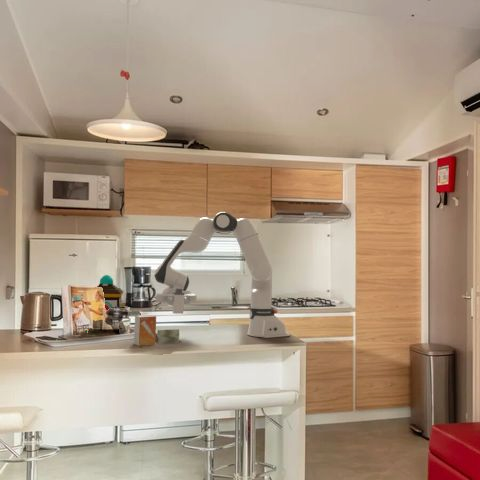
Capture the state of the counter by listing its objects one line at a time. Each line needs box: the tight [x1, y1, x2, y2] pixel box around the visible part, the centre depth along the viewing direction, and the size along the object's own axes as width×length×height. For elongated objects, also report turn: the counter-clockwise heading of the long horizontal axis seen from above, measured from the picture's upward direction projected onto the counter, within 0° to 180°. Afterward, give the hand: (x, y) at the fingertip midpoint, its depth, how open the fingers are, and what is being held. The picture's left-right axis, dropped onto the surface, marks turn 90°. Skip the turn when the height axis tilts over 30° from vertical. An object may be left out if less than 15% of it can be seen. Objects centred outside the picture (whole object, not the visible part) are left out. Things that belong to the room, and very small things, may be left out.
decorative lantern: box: [96, 274, 126, 310], centre depth 239 cm, size 20×20×30 cm
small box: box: [133, 314, 157, 347], centre depth 205 cm, size 8×6×13 cm
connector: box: [172, 288, 185, 315], centre depth 218 cm, size 5×5×12 cm
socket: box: [155, 328, 180, 344], centre depth 214 cm, size 10×10×6 cm
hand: (178, 299), depth 218 cm, fingers closed on connector, 4 cm apart
